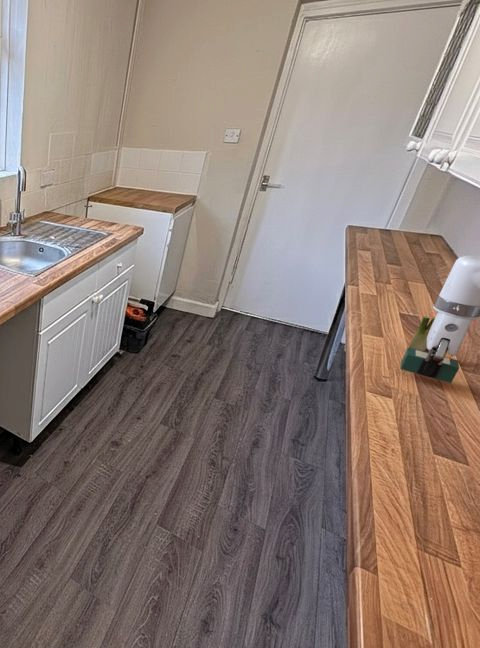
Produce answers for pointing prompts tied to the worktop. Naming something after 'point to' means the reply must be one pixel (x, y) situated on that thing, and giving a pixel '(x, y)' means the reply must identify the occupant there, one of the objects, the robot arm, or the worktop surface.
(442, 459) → the worktop surface
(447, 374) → the tea packet
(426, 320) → the fennel bulb
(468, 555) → the worktop surface
